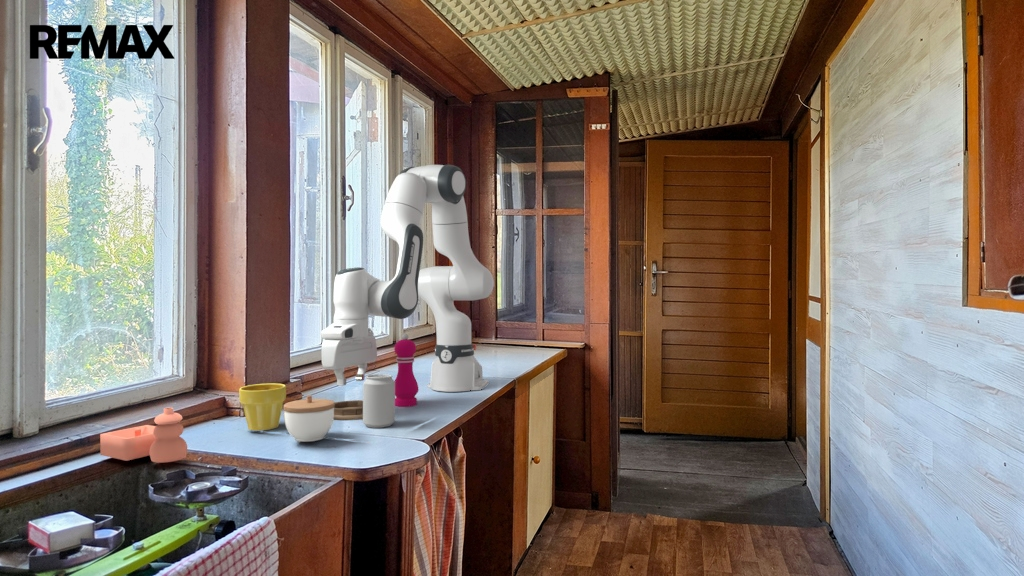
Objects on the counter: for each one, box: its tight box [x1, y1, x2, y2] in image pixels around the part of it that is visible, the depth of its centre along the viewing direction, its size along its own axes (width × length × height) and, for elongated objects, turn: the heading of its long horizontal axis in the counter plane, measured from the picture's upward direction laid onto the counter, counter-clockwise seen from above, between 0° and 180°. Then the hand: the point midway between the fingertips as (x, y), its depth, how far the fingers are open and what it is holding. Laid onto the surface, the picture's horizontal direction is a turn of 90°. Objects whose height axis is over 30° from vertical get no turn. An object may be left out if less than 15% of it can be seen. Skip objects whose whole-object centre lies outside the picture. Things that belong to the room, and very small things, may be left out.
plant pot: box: [238, 382, 287, 432], centre depth 149 cm, size 10×10×10 cm
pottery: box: [99, 407, 188, 464], centre depth 126 cm, size 18×10×10 cm, turn 61°
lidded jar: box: [282, 395, 335, 443], centre depth 139 cm, size 11×11×9 cm
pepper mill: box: [394, 333, 419, 408], centre depth 177 cm, size 7×7×20 cm
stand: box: [333, 399, 363, 421], centre depth 165 cm, size 14×14×2 cm
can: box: [362, 373, 396, 429], centre depth 152 cm, size 8×8×12 cm
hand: (351, 383), depth 164 cm, fingers open, 7 cm apart
